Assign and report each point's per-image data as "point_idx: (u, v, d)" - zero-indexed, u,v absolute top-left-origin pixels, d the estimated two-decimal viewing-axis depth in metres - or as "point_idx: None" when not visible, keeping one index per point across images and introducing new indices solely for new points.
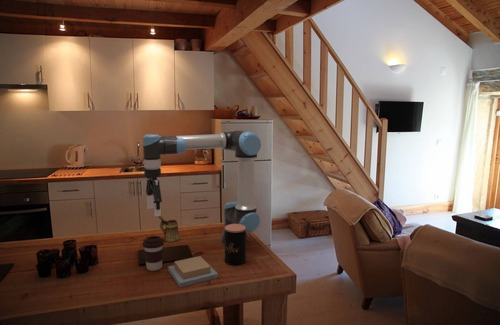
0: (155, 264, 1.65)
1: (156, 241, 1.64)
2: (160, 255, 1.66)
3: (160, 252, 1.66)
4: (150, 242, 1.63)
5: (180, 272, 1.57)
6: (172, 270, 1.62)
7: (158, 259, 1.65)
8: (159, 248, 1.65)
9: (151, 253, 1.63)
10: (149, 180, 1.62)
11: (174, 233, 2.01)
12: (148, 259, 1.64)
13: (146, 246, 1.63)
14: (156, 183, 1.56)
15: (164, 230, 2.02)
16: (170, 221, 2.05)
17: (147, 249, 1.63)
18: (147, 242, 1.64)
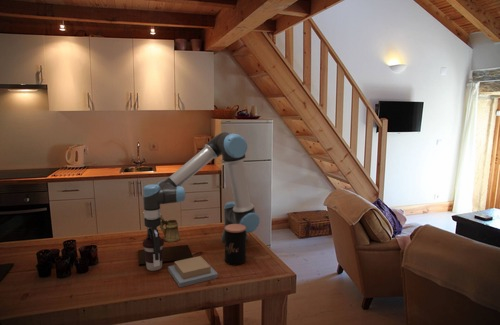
0: None
1: None
2: (160, 255, 1.66)
3: None
4: (150, 242, 1.63)
5: (180, 272, 1.57)
6: (172, 270, 1.62)
7: None
8: None
9: (151, 253, 1.63)
10: (149, 228, 1.66)
11: (174, 233, 2.01)
12: (148, 259, 1.64)
13: (146, 246, 1.63)
14: (156, 235, 1.60)
15: (164, 230, 2.02)
16: (170, 221, 2.05)
17: (147, 249, 1.63)
18: (147, 242, 1.64)
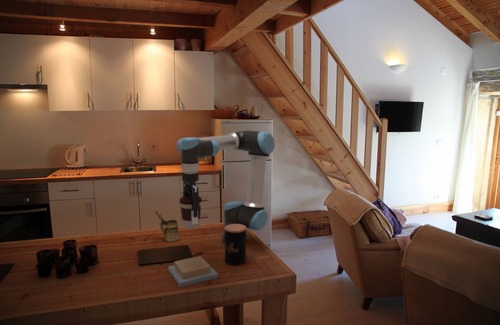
0: None
1: None
2: (198, 213, 1.56)
3: None
4: (188, 198, 1.53)
5: (180, 272, 1.57)
6: (172, 270, 1.62)
7: None
8: None
9: (189, 210, 1.53)
10: (186, 184, 1.56)
11: (174, 233, 2.01)
12: (186, 216, 1.54)
13: (184, 202, 1.53)
14: (195, 190, 1.50)
15: (164, 230, 2.02)
16: (170, 221, 2.05)
17: (185, 206, 1.53)
18: (185, 198, 1.54)
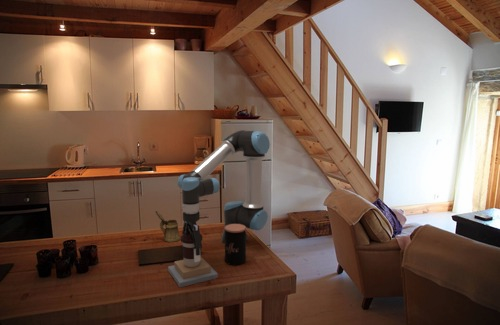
0: None
1: None
2: None
3: None
4: (189, 237, 1.56)
5: (180, 272, 1.57)
6: (172, 270, 1.62)
7: None
8: None
9: (190, 249, 1.56)
10: (187, 224, 1.59)
11: (174, 233, 2.01)
12: (187, 255, 1.57)
13: (185, 241, 1.56)
14: (196, 228, 1.53)
15: (164, 230, 2.02)
16: (170, 221, 2.05)
17: (186, 244, 1.56)
18: (186, 237, 1.57)
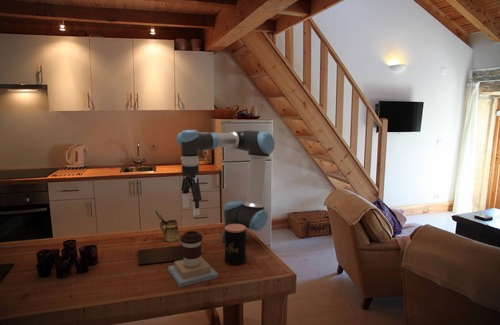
0: (194, 260, 1.58)
1: (195, 236, 1.57)
2: (199, 251, 1.59)
3: (199, 248, 1.58)
4: (189, 237, 1.56)
5: (180, 272, 1.57)
6: (172, 270, 1.62)
7: (197, 255, 1.58)
8: (198, 243, 1.58)
9: (190, 249, 1.56)
10: (186, 178, 1.56)
11: (174, 233, 2.01)
12: (187, 255, 1.57)
13: (185, 241, 1.56)
14: (195, 181, 1.50)
15: (164, 230, 2.02)
16: (170, 221, 2.05)
17: (186, 244, 1.56)
18: (186, 237, 1.57)
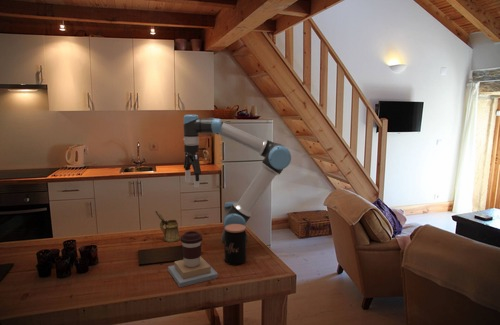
0: (194, 260, 1.58)
1: (195, 236, 1.57)
2: (199, 251, 1.59)
3: (199, 248, 1.58)
4: (189, 237, 1.56)
5: (180, 272, 1.57)
6: (172, 270, 1.62)
7: (197, 255, 1.58)
8: (198, 243, 1.58)
9: (190, 249, 1.56)
10: (188, 155, 1.82)
11: (174, 233, 2.01)
12: (187, 255, 1.57)
13: (185, 241, 1.56)
14: (196, 157, 1.76)
15: (164, 230, 2.02)
16: (170, 221, 2.05)
17: (186, 244, 1.56)
18: (186, 237, 1.57)
